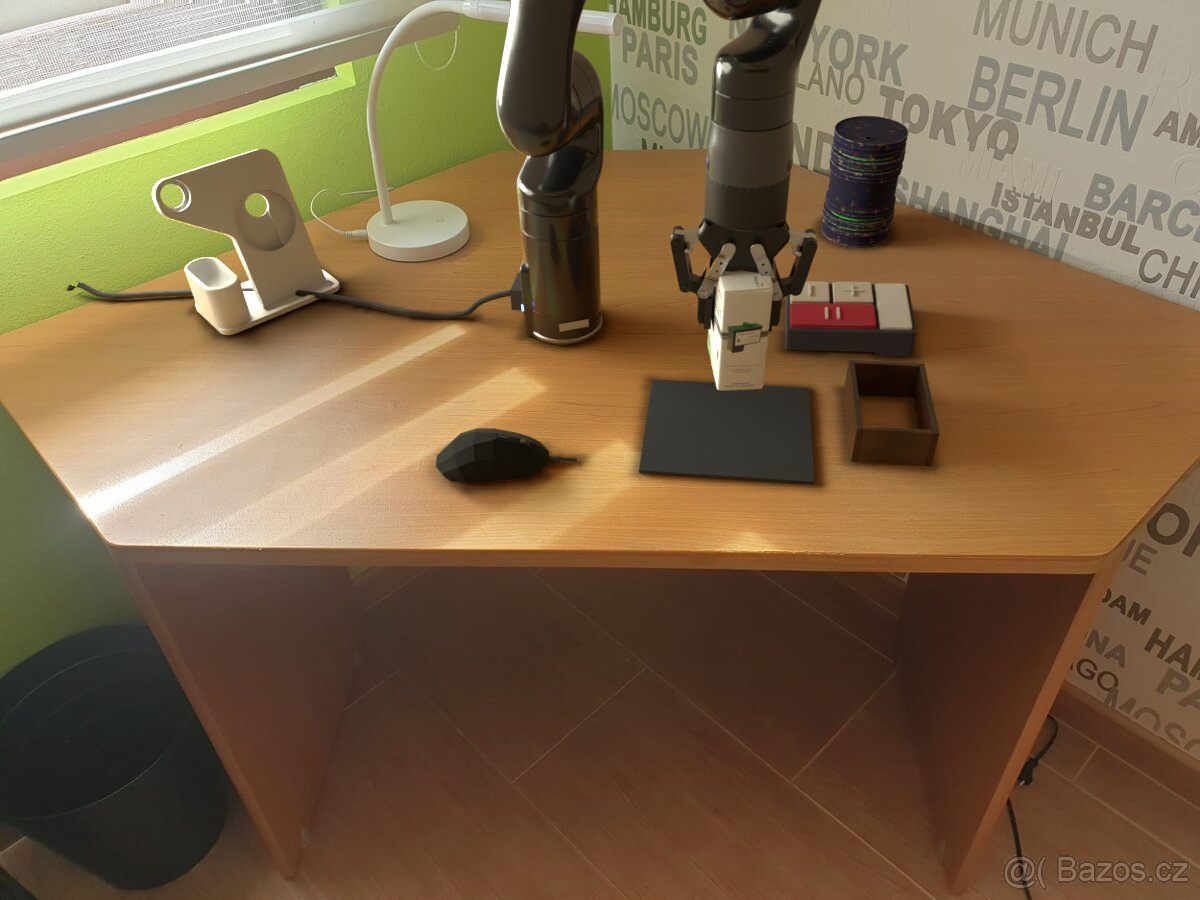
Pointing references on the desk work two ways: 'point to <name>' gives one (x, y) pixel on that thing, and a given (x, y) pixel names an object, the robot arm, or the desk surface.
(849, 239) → the navy blue cylinder
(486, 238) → the desk surface
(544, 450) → the gaming mouse
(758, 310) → the ink box
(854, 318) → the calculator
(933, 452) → the box
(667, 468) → the mat
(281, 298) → the phone holder
